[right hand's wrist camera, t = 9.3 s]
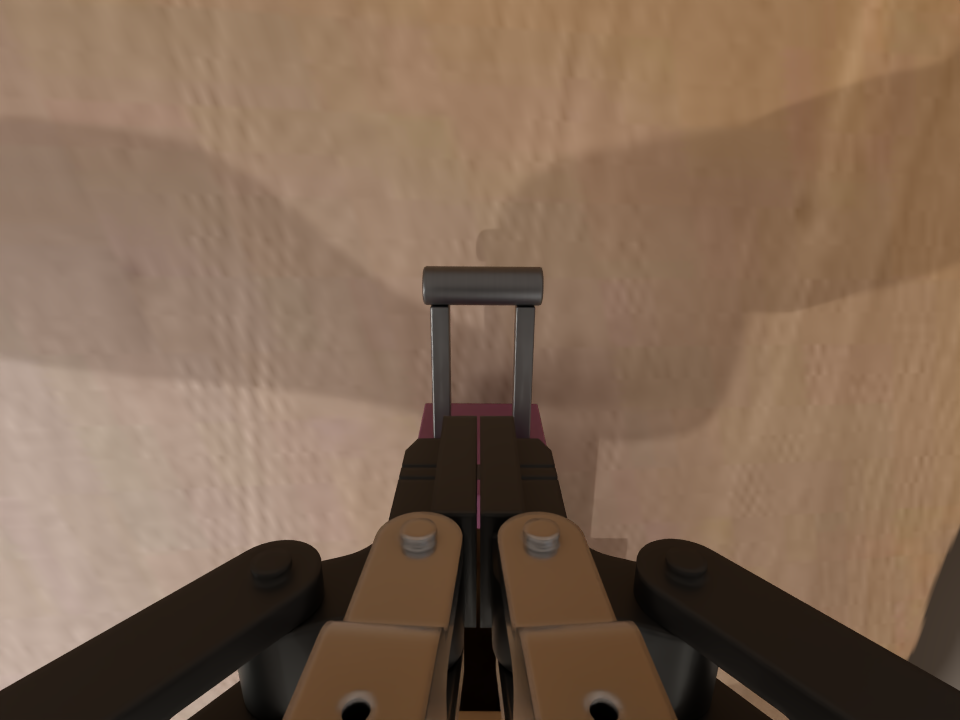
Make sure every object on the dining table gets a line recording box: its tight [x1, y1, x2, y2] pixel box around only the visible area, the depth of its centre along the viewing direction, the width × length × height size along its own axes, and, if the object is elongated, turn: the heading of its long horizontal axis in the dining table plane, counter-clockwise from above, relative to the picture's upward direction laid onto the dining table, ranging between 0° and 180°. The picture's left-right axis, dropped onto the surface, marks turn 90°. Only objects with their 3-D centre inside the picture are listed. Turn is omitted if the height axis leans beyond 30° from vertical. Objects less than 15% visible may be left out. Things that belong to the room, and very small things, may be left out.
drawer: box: [418, 266, 546, 711], centre depth 22 cm, size 25×4×6 cm, turn 0°
